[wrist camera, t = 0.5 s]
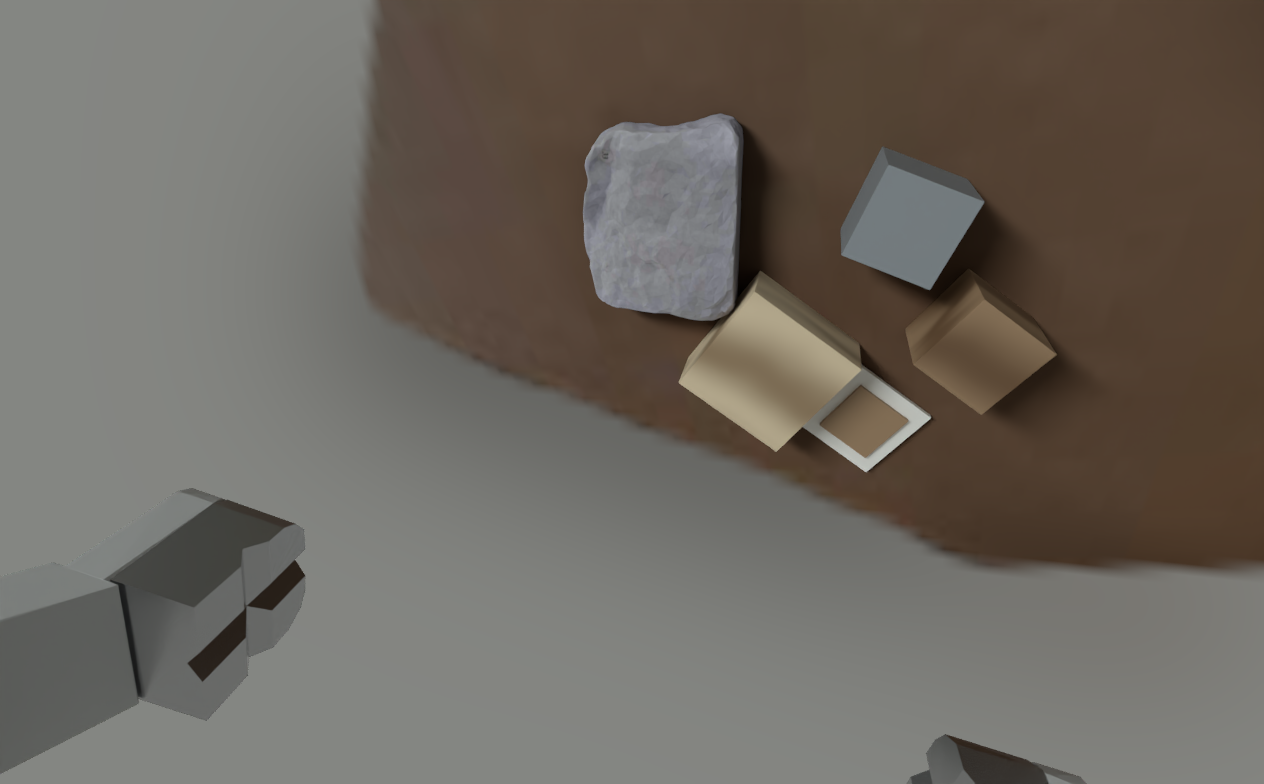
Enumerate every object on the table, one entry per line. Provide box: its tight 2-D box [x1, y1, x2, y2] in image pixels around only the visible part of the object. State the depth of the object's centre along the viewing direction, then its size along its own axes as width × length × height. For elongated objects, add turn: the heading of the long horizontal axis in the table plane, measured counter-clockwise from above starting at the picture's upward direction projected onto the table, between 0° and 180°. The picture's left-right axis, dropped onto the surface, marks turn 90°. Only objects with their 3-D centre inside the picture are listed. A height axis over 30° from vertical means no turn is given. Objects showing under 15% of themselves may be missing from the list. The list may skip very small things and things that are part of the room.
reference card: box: [803, 364, 931, 472], centre depth 45 cm, size 6×6×1 cm
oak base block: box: [679, 271, 862, 452], centre depth 44 cm, size 8×8×4 cm
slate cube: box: [841, 146, 984, 290], centre depth 36 cm, size 5×5×5 cm
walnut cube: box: [905, 268, 1057, 415], centre depth 39 cm, size 5×5×5 cm
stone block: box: [583, 114, 744, 321], centre depth 41 cm, size 12×5×10 cm
